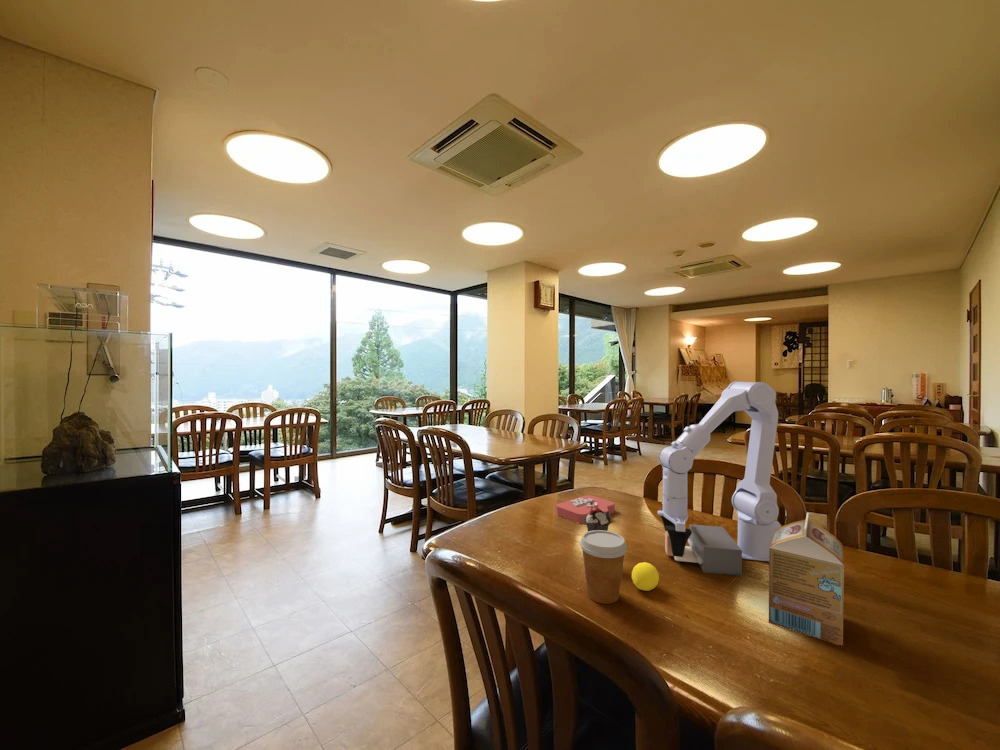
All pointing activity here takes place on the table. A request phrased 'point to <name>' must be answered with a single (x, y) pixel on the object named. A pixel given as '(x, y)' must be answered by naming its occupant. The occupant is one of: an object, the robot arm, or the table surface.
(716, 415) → the robot arm
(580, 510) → the plaque
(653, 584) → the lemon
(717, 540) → the dispenser
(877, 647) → the table surface
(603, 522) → the sundae
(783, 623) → the milk carton
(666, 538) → the peach block on base
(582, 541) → the disposable coffee cup
